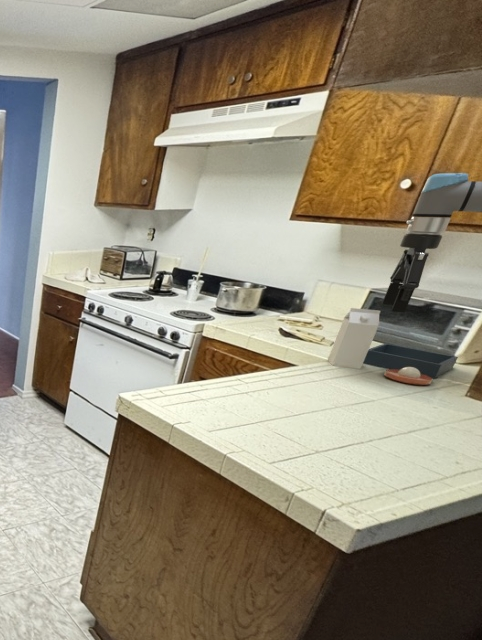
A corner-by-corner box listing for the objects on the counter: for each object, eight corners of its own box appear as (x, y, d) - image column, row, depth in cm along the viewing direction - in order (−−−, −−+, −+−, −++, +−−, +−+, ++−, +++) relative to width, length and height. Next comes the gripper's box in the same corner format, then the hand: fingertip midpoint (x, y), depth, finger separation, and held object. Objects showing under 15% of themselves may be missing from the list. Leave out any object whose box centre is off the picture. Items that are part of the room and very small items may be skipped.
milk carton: (327, 360, 161) (348, 306, 154) (354, 364, 158) (377, 308, 151) (331, 366, 156) (354, 309, 148) (360, 370, 152) (384, 312, 145)
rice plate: (433, 384, 141) (441, 369, 139) (422, 390, 136) (430, 374, 134) (389, 374, 149) (395, 360, 147) (377, 379, 144) (383, 364, 142)
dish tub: (450, 371, 153) (458, 356, 151) (433, 380, 144) (441, 364, 142) (379, 356, 167) (385, 343, 165) (360, 364, 158) (366, 349, 156)
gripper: (395, 231, 144) (368, 300, 152) (416, 234, 125) (383, 313, 133) (430, 232, 139) (400, 303, 147) (457, 236, 121) (421, 316, 129)
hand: (392, 308), depth 140 cm, fingers open, 13 cm apart
